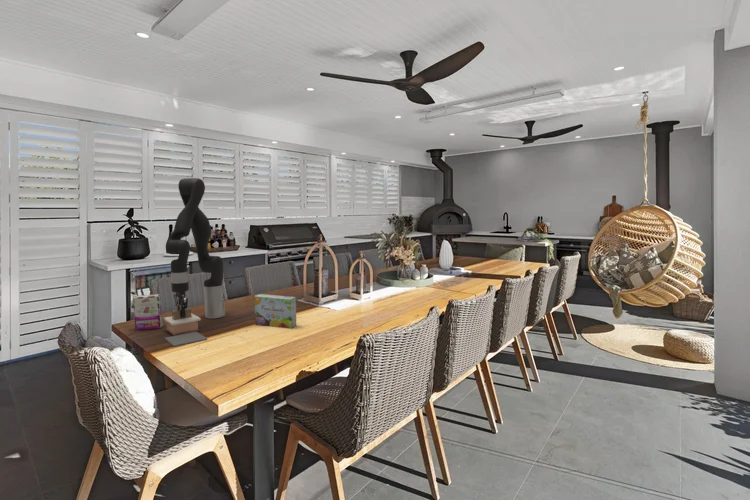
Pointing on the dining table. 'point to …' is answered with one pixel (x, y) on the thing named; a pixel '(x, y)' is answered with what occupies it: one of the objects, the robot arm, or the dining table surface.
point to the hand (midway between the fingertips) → (181, 316)
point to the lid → (177, 319)
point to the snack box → (275, 310)
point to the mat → (185, 339)
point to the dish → (182, 328)
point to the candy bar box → (147, 312)
